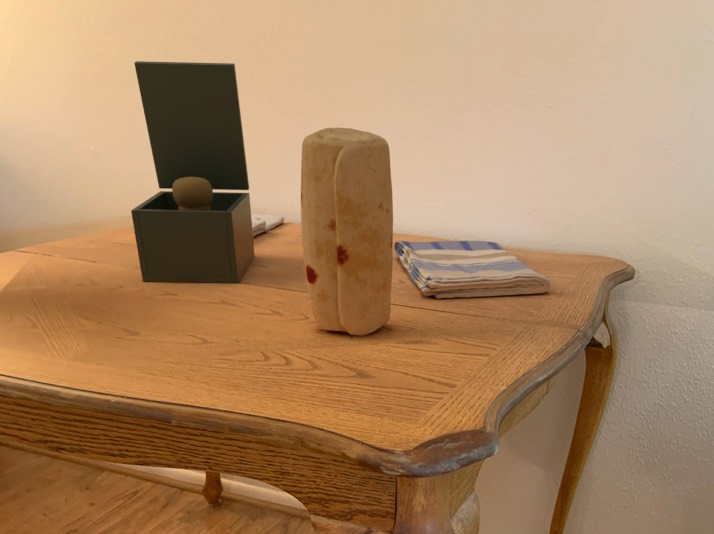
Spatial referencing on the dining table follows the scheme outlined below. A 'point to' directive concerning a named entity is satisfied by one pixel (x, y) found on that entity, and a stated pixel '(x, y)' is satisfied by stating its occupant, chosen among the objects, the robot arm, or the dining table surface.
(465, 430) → the dining table surface
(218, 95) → the bin lid
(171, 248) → the bin
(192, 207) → the cork
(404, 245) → the dish towel
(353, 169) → the food model
